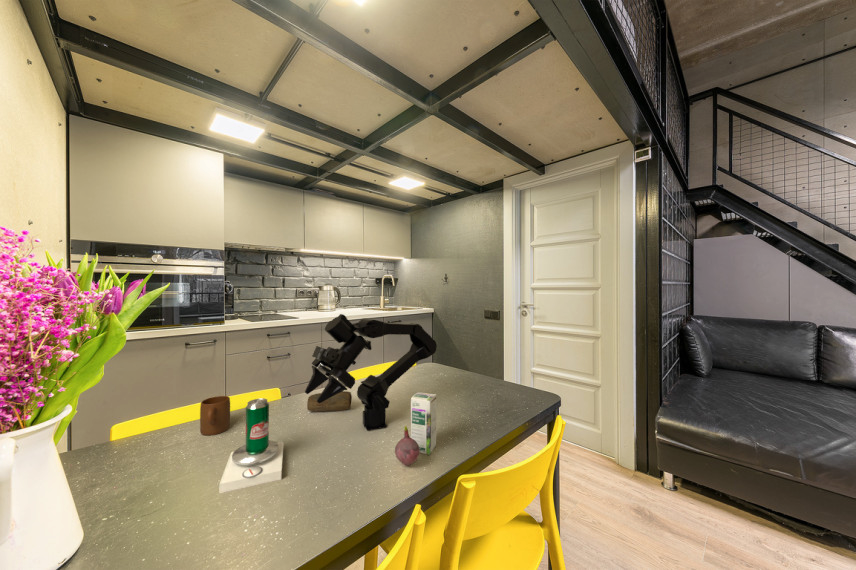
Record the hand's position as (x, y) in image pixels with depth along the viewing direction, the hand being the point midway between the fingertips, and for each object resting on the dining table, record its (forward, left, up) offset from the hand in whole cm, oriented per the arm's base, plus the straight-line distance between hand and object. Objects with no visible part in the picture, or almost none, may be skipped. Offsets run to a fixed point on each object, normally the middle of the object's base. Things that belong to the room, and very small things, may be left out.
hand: (311, 397), depth 85 cm
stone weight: (-8, -24, -14) cm, 29 cm away
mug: (+27, -20, -14) cm, 36 cm away
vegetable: (-21, +19, -14) cm, 32 cm away
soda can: (+13, +4, -10) cm, 17 cm away
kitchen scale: (+13, +6, -14) cm, 20 cm away
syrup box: (-28, +13, -14) cm, 34 cm away
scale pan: (+13, +4, -12) cm, 19 cm away
